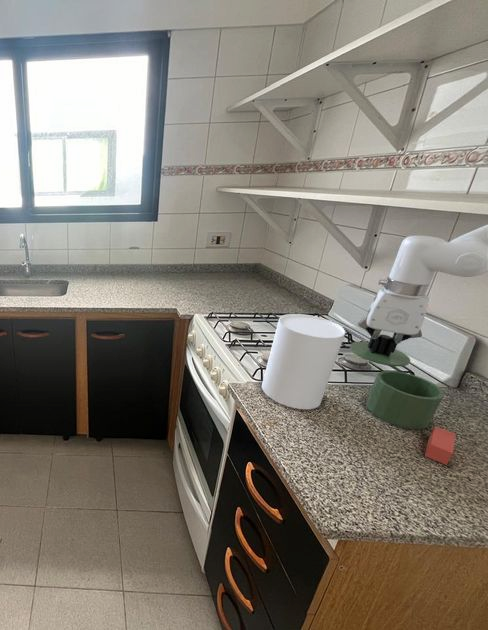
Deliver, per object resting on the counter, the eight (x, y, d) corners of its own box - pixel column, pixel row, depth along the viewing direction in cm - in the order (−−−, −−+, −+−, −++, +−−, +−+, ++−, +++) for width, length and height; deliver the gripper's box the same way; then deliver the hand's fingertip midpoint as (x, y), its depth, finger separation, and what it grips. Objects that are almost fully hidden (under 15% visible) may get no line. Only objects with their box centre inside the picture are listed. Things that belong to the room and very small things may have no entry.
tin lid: (403, 352, 94) (411, 333, 92) (413, 373, 85) (423, 352, 82) (346, 341, 100) (353, 322, 98) (351, 359, 91) (358, 340, 88)
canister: (251, 379, 97) (267, 315, 89) (296, 376, 98) (316, 312, 90) (283, 411, 85) (304, 339, 77) (334, 407, 86) (360, 336, 78)
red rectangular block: (428, 437, 76) (434, 425, 75) (449, 445, 74) (455, 433, 73) (424, 456, 72) (430, 444, 70) (446, 465, 69) (453, 453, 68)
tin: (421, 408, 85) (435, 379, 82) (434, 436, 77) (451, 405, 73) (363, 393, 91) (374, 365, 88) (369, 418, 82) (381, 388, 79)
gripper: (366, 286, 86) (343, 350, 93) (456, 298, 78) (423, 367, 85) (362, 278, 92) (340, 339, 99) (446, 288, 84) (416, 354, 91)
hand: (379, 351), depth 92 cm, fingers closed on tin lid, 2 cm apart
